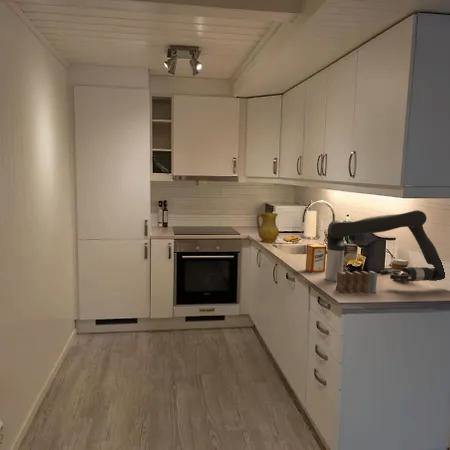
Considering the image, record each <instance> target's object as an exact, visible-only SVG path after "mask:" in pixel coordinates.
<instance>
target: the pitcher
mask: <svg viewBox="0 0 450 450" xmlns="http://www.w3.org/2000/svg"><path fill="white" fill-rule="evenodd" d="M278 215H279V214H278V213H275V212H260V213H258V214H257V215H256V228H257V233H258V237H259V238H260V239H261V240H260V242H262V243H264V244H265V243H266V244H272V243H271V242H275V243H276V240H277V239H278V236H280V230H279V228H278V226H277V224H276V223H277V222H276V219H277V217H278ZM260 217H261V219H262V221H261V224H260Z"/></svg>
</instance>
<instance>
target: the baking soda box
mask: <svg viewBox="0 0 450 450" xmlns="http://www.w3.org/2000/svg"><path fill="white" fill-rule="evenodd" d="M327 246H328V245H324V244H323V245H322V244H307V245H306V255H305V256H306V257H305V258H306V259H305V271H306V270H307V272H309V271H310V272H309V273H311V272H314V273H326V261H327Z"/></svg>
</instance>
